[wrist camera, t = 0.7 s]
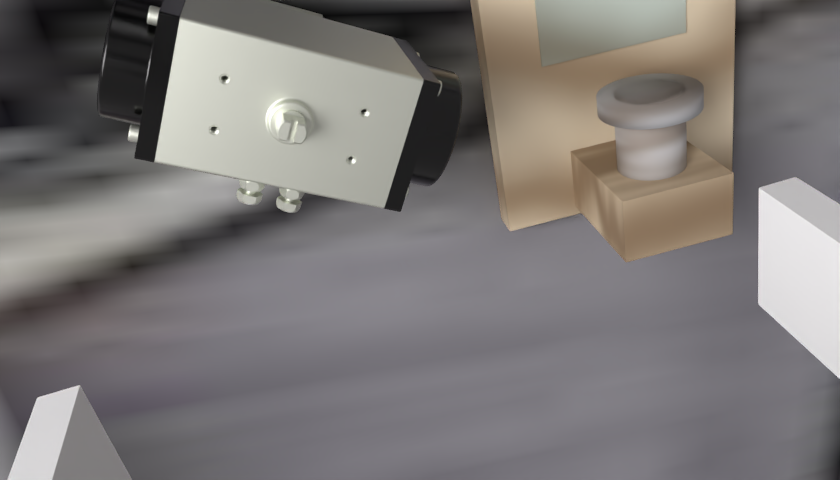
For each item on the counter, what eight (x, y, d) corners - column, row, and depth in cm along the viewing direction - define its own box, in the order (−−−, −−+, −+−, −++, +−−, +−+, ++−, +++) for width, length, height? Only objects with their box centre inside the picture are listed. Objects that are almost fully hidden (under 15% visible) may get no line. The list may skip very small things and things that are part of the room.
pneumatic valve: (146, -52, 32) (99, 5, 21) (417, 24, 35) (491, 104, 25) (126, 78, 34) (74, 188, 23) (384, 138, 37) (438, 256, 27)
